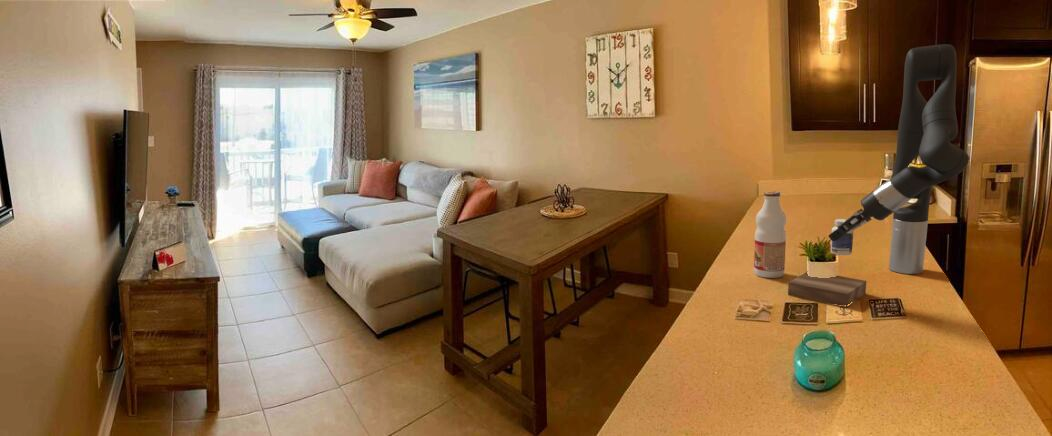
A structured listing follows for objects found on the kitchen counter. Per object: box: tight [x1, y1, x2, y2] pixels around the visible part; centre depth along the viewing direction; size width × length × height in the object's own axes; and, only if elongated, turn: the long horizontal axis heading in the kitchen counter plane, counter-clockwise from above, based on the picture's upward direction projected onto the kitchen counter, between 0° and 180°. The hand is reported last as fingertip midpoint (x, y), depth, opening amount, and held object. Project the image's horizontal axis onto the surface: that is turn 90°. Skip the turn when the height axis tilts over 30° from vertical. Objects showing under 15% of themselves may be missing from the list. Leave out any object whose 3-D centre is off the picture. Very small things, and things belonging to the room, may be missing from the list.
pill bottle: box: [830, 218, 854, 256], centre depth 154 cm, size 5×5×10 cm
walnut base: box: [787, 271, 867, 306], centre depth 159 cm, size 15×16×4 cm
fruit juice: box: [753, 190, 787, 279], centre depth 177 cm, size 9×9×28 cm
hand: (835, 236), depth 155 cm, fingers closed on pill bottle, 5 cm apart
